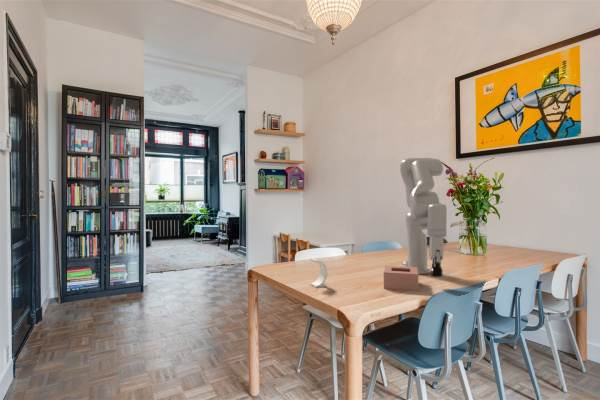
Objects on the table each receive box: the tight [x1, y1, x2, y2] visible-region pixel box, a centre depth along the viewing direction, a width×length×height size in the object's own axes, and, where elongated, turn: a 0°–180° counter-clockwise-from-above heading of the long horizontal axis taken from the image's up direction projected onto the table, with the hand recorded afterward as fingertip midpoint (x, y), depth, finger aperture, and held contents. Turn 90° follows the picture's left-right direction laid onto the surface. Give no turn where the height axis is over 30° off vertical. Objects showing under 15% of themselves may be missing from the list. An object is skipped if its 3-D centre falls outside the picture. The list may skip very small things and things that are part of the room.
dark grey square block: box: [430, 267, 444, 278], centre depth 141 cm, size 5×5×3 cm
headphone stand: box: [309, 258, 328, 289], centre depth 146 cm, size 5×6×12 cm
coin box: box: [383, 265, 419, 292], centre depth 144 cm, size 14×14×7 cm
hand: (436, 273), depth 141 cm, fingers closed on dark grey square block, 4 cm apart
